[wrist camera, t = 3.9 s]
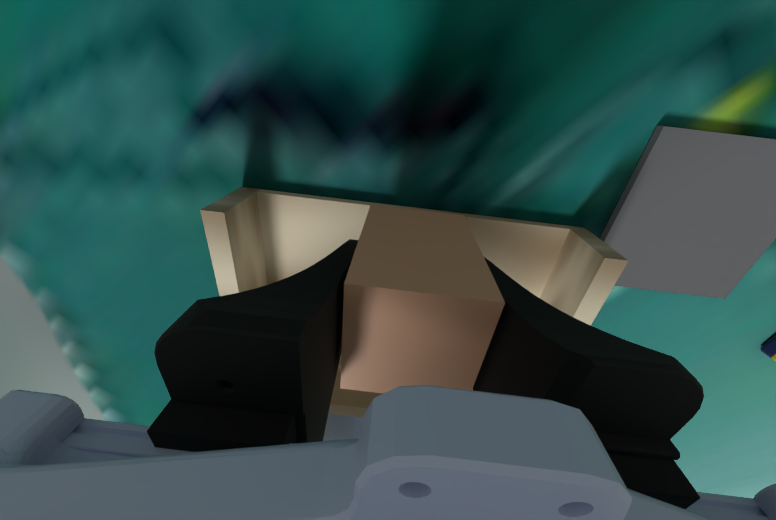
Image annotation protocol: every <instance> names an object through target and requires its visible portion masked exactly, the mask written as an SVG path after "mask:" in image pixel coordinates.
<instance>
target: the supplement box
mask: <svg viewBox="0 0 776 520" xmlns="http://www.w3.org/2000/svg"><path fill="white" fill-rule="evenodd" d="M761 351H762V352H763V353H765V354H766V355H768V356H769V357H770V358H772V359H773V360H775V361H776V335H775V336H774V337H773V338H771V339H770V340H769V341H768V342H766V343H765V344H764V345H763V346H762V347H761Z"/></svg>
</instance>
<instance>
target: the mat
mask: <svg viewBox="0 0 776 520" xmlns="http://www.w3.org/2000/svg"><path fill="white" fill-rule="evenodd" d="M775 238H776V139H769V138H760V137H752V136H743V135H735V134H726V133H718V132H710V131H701V130H693V129H684V128H676V127H667V126H659V125H657V126H656V128H655V130H654V132H653V134H652V136H651V138H650V140H649V142H648V144H647V146H646V148H645V150H644V152H643V154H642V156H641V158H640V160H639V162H638V164H637V166H636V168H635V170H634V172H633V174H632V176H631V177H630V179H629V181H628V183H627V185H626V187H625V189H624V191H623V193H622V195H621V197H620V199H619V201H618V203H617V205H616V207H615V209H614V211H613V213H612V215H611V217H610V219H609V221H608V223H607V225H606V227H605V229H604V231H603V233H602V234H601V236H600V238H599V239H601V240H602V241H603V242H604V243H606V244H607V245H608V246H610V247H611V248H612V249H614V250H615V251H616V252H618V253H619V254H620V255H622V256H623V257H624V258H626V259H627V260H628V263H627V264H626V266H625V268H624V270H623V271H622V273H621V275H620V276H619V278H618V280H617V281H616V283H615V285H614V286H623V287H631V288H640V289H648V290H656V291H665V292H673V293H682V294H690V295H699V296H707V297H715V298H724V299H725V298H726V297H727V296H728V295H729V293H730V292H731V291H732V290H733V289H734V287H735V286H736V285H737V284H738V283H739V281H740V280H741V279H742V278H743V277H744V275H745V274H746V273H747V272H748V271H749V269H750V268H751V267H752V266H753V265H754V263H755V262H756V261H757V260H758V259H759V258H760V256H761V255H762V254H763V253H764V252H765V250H766V249H767V248H768V247H769V246H770V244H771V243H772V242H773V241H774V240H775Z"/></svg>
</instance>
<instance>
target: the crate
mask: <svg viewBox="0 0 776 520" xmlns="http://www.w3.org/2000/svg"><path fill="white" fill-rule="evenodd" d="M371 204H374V205H382V206H391V207H399V208H407V209H416V210H424V211H432V212H440V213H449V214H457V215H464V216H465V218H466V220H467V222H468V224H469V226H470V228H471V231H472V233H473V235H474V237H475V239H476V241H477V243H478V246H479V248H480V250H481V252H482V254H483V256H484V257H485V258H487V259H488V260H489V261H490V262H492V263H493V264H494V265H496V266H497V267H498V268H499V269H500V270H502V271H503V272H504V273H505V274H507V275H508V276H509V277H511V278H512V279H513V280H514V281H516V282H517V283H518V284H520V285H521V286H522V287H524V288H525V289H527V290H528V291H530V292H531V293H532V294H534V295H535V296H537V297H538V298H540V299H542V300H543V301H545V302H547V303H548V304H550V305H552V306H553V307H555V308H557V309H559V310H560V311H562V312H564V313H566V314H568V315H570V316H572V317H574V318H576V319H578V320H580V321H582V322H584V323H586V324H588V325H590V326H591V324H592V322H593V321H594V319H595V317H596V316H597V314H598V312H599V310H600V309H601V307H602V305H603V304H604V302H605V300H606V299H607V297H608V295H609V293H610V292H611V290H612V288H613V287H614V285H615V283H616V281H617V280H618V278H619V276H620V275H621V273H622V271H623V270H624V268H625V266H626V264H627V263H628V260H627V259H626V258H624V257H623V256H622V255H620V254H619V253H618V252H616V251H615V250H614V249H612V248H611V247H610V246H608V245H607V244H606V243H604V242H603V241H602V240H601V239H599V238H598V237H597V236H595V235H594V234H593V233H591V232H590V231H589V230H587V229H586V228H584V227H575V226H567V225H558V224H550V223H542V222H533V221H525V220H516V219H508V218H499V217H491V216H483V215H474V214H466V213H457V212H449V211H440V210H432V209H424V208H415V207H407V206H398V205H390V204H381V203H373V202H365V201H356V200H348V199H339V198H331V197H322V196H314V195H306V194H297V193H289V192H280V191H272V190H263V189H255V188H247V187H241V188H239V189H237V190H235V191H233V192H232V193H230V194H228V195H226V196H224V197H223V198H221V199H219V200H217V201H215V202H214V203H212V204H210V205H208V206H206V207H205V208H203V209H201V215H202V219H203V224H204V228H205V233H206V237H207V242H208V246H209V250H210V255H211V259H212V264H213V268H214V273H215V277H216V282H217V286H218V290H219V295H220V296H224V295H230V294H235V293H239V292H243V291H247V290H251V289H255V288H259V287H262V286H265V285H268V284H271V283H274V282H277V281H279V280H282V279H285V278H288V277H290V276H292V275H294V274H296V273H299V272H301V271H303V270H305V269H307V268H308V267H310V266H312V265H314V264H315V263H317V262H318V261H320V260H322V259H323V258H325V257H326V256H328V255H329V254H331V253H332V252H333V251H335V250H336V249H337V248H339V247H340V246H341V245H342V244H344V243H345V242H346V241H348V240H349V239H353V240H359V238H360V235H361V232H362V229H363V226H364V223H365V220H366V217H367V214H368V211H369V208H370V205H371ZM341 354H342V353H341ZM340 381H341V357H340V361H339V366H338V370H337V375H336V379H335V384H334V389H333V393H332V398H331V403H330V408H329V413H328V414H335V415H344V416H352V417H361V418H364V414H365V412H366V411H367V409H368V407H369V406H370V404H371V402H372V400H373V399H374V398H375V397H377V396H379V395H381V394H383V393H375V392H366V391H358V390H350V389H341V388H340ZM472 390H473V389H472Z"/></svg>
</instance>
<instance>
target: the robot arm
mask: <svg viewBox="0 0 776 520" xmlns="http://www.w3.org/2000/svg"><path fill="white" fill-rule="evenodd" d="M357 243H358V240H353V239H349V240H348V241H346V242H345V243H344V244H342V245H341V246H340V247H339V248H337V249H336V250H335V251H333V252H332V253H331V254H329V255H328V256H326V257H325V258H323V259H322V260H320V261H318V262H317V263H315V264H314V265H312V266H310V267H308V268H307V269H305V270H303V271H301V272H299V273H296V274H294V275H292V276H290V277H288V278H285V279H282V280H279V281H277V282H274V283H271V284H268V285H265V286H262V287H259V288H255V289H251V290H247V291H243V292H239V293H235V294H230V295H224V296H219V297H213V298H207V299H201V300H197V301H196V302H195V303H194V304H193V305H192V306H191V307H190V308H189V309H188V310H187V311H186V312H185V313H184V314H183V315H182V316H181V317H180V318H178V319H177V320H176V321H175V322H174V323H173V324H172V325H171V326H170V327H169V328H168V329H167V330H166V331H165V332H164V333H163V334H162V336H161V337H160V338H159V340H158V341H157V342H156V347H155V352H154V353H155V357H156V361H157V365H158V368H159V370H160V373H161V375H162V377H163V380H164V382H165V385H166V387H167V389H168V392H169V394H170V397H171V400H170V402H169V403H168V404H167V406H166V407H165V408H164V409H163V411H162V412H161V413H160V415H159V416H158V417H157V418H156V420H155V421H154V422H153V424H152V425H151V426H144V425H136V424H127V423H119V422H111V421H102V420H93V419H86V418H84V414H83V412H82V410H81V408H80V407H79V405H78V404H77V403H75V402H74V401H73V400H71V399H69V398H68V397H65V396H61V395H57V394H48V393H40V392H31V391H24V390H13V391H10V392H9V393H7V394H6V395H5V396H3V397H2V398H1V399H0V520H776V484H773V485H770V486H768V487H766V488H764V489H763V490H761V491H760V492H758V493H757V494H756V495H755V497H754V499H752V498H743V497H735V496H727V495H718V494H710V493H702V492H696V490H695V489H694V488H693V486H692V485H691V484H690V482H689V481H688V479H687V478H686V477H685V475H684V474H683V472H682V471H681V470H680V468H679V467H678V466H677V464H676V463H675V461H674V460H678V459H679V458H680V452H679V451H678V450H677V448H676V447H675V446H674V444H673V443H672V442H671V440H670V439H671V438H672V437H673V436H674V435H675V434H676V433H677V432H678V431H679V430H680V429H681V428H682V427H683V426H684V425H685V424H686V423H687V422H688V421H689V420H691V419H692V418H693V416H694V415H695V414H696V413H697V411H698V410H699V409H700V407H701V404H702V401H703V397H704V394H703V388H702V386H701V384H700V383H699V382H698V381H697V380H696V378H695V377H694V376H693V375H692V374H691V373H690V372H689V371H688V370H687V369H686V368H685V367H684V366H683V365H682V364H681V363H680V362H679V361H678V360H676V359H675V358H674V357H672V356H669V355H666V354H663V353H660V352H657V351H655V350H652V349H649V348H646V347H643V346H640V345H637V344H634V343H631V342H629V341H626V340H623V339H621V338H619V337H616V336H614V335H611V334H609V333H606V332H604V331H601V330H599V329H597V328H595V327H592V326H590V325H588V324H586V323H584V322H582V321H580V320H578V319H576V318H574V317H572V316H570V315H568V314H566V313H564V312H562V311H560V310H559V309H557V308H555V307H553V306H552V305H550V304H548V303H547V302H545V301H543V300H542V299H540V298H538V297H537V296H535V295H534V294H532V293H531V292H530V291H528V290H527V289H525V288H524V287H522V286H521V285H520V284H518V283H517V282H516V281H514V280H513V279H512V278H511V277H509V276H508V275H507V274H505V273H504V272H503V271H502V270H500V269H499V268H498V267H497V266H496V265H494V264H493V263H492V262H490V261H489V260H488V259H487V258H485V257H484V258H485V261H486V263H487V265H488V267H489V269H490V271H491V273H492V275H493V278H494V280H495V282H496V284H497V286H498V288H499V290H500V293H501V295H502V297H503V299H504V301H505V305H504V307H503V310H502V312H501V315H500V318H499V320H498V323H497V326H496V328H495V331H494V333H493V336H492V339H491V341H490V344H489V347H488V349H487V352H486V354H485V357H484V360H483V362H482V365H481V368H480V370H479V373H478V375H477V378H476V381H475V383H474V386H473V390H464V389H456V388H448V387H439V386H431V385H412V386H398V387H396V388H394V389H392V390H390V391H388V392H386V393H383V394H381V395H379V396H377V397H375V398H374V399H373V400H372V402H371V404H370V406H369V407H368V409H367V411H366V412H365V414H364V418H361V417H352V416H344V415H335V414H328V413H329V408H330V403H331V398H332V393H333V389H334V384H335V379H336V375H337V370H338V366H339V361H340V357H341V353H342V327H343V300H344V282H345V279H346V276H347V273H348V270H349V267H350V264H351V261H352V258H353V255H354V252H355V249H356V246H357Z"/></svg>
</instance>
